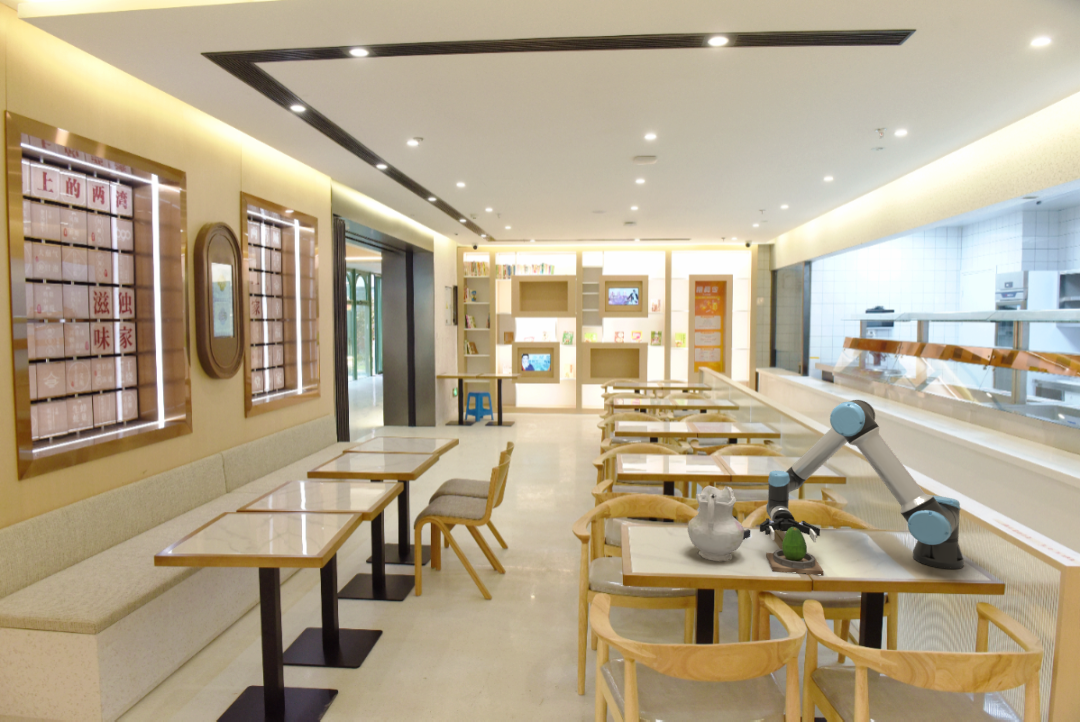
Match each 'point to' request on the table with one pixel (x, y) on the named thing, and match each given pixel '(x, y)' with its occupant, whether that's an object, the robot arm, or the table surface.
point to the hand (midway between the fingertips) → (794, 537)
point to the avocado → (794, 545)
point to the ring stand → (793, 563)
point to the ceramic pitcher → (716, 525)
